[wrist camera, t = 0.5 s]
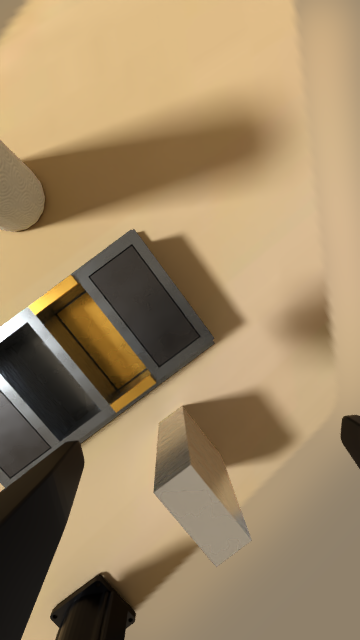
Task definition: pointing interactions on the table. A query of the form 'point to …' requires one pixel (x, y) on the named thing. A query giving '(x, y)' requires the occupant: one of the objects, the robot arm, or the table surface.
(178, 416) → the plain gray rectangular block
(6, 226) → the paper towel roll
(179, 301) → the rack
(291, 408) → the table surface
